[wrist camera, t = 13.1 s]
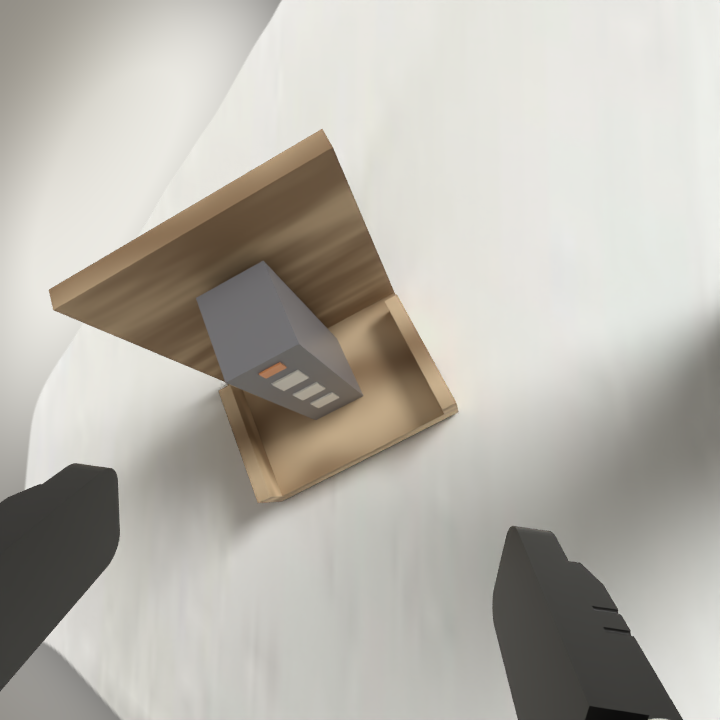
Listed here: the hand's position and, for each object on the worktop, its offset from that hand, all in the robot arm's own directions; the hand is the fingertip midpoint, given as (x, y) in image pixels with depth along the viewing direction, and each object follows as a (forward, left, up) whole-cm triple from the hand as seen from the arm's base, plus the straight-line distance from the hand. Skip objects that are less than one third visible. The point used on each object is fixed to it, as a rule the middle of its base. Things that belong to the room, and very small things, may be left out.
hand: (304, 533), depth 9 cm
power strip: (-2, -11, -23) cm, 25 cm away
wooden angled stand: (-2, -10, -25) cm, 27 cm away
